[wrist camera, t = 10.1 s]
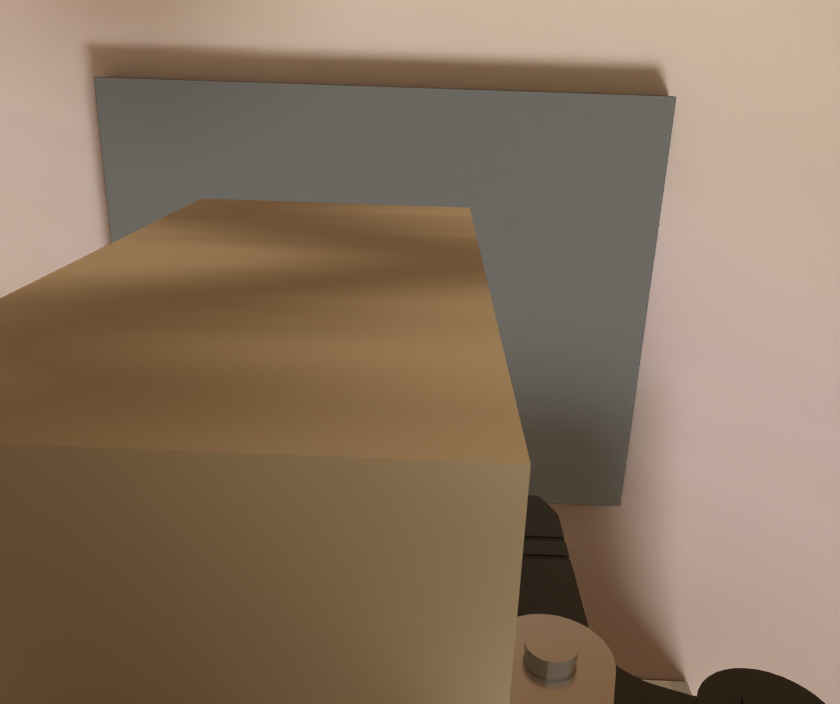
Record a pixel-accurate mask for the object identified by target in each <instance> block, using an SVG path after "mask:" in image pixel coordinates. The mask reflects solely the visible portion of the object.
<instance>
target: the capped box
mask: <svg viewBox="0 0 840 704" xmlns="http://www.w3.org/2000/svg"><path fill="white" fill-rule="evenodd" d="M530 467H531V463H530V459H529V455H528V450H527V446H526V442H525V438H524V434H523V429H522V425H521V421H520V417H519V413H518V408H517V404H516V400H515V396H514V392H513V387H512V383H511V379H510V375H509V371H508V366H507V362H506V358H505V354H504V350H503V345H502V341H501V337H500V333H499V329H498V324H497V320H496V316H495V312H494V308H493V303H492V299H491V295H490V291H489V287H488V283H487V278H486V274H485V270H484V266H483V262H482V257H481V253H480V249H479V245H478V241H477V236H476V232H475V228H474V224H473V220H472V215H471V211H470V208H466V207H437V206H407V205H378V204H349V203H320V202H290V201H261V200H232V199H203V198H201V199H199V200H197V201H195V202H193V203H191V204H189V205H187V206H185V207H183V208H181V209H179V210H177V211H175V212H173V213H171V214H169V215H167V216H165V217H163V218H161V219H159V220H157V221H155V222H153V223H151V224H149V225H147V226H145V227H143V228H141V229H139V230H137V231H135V232H133V233H131V234H129V235H127V236H125V237H123V238H121V239H119V240H117V241H115V242H113V243H111V244H109V245H107V246H105V247H103V248H101V249H99V250H97V251H95V252H93V253H91V254H89V255H87V256H85V257H83V258H81V259H79V260H77V261H75V262H73V263H71V264H69V265H67V266H65V267H63V268H61V269H59V270H57V271H55V272H53V273H51V274H49V275H47V276H45V277H43V278H41V279H39V280H37V281H35V282H33V283H31V284H29V285H27V286H25V287H23V288H21V289H19V290H16V291H14V292H12V293H10V294H8V295H6V296H4V297H2V298H0V704H509V703H510V691H511V680H512V669H513V658H514V647H515V635H516V624H517V613H518V602H519V591H520V579H521V568H522V557H523V546H524V534H525V523H526V512H527V501H528V490H529V478H530Z"/></svg>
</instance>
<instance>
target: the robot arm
mask: <svg viewBox="0 0 840 704" xmlns="http://www.w3.org/2000/svg"><path fill="white" fill-rule="evenodd" d="M509 704H825V703H824V702H823V701H821V700H820V699H819V698H818V697H817V696H815V695H814V694H813V693H811V692H810V691H808V690H807V689H805V688H804V687H802V686H800V685H798V684H797V683H795V682H793V681H790V680H788V679H786V678H784V677H781V676H778V675H775V674H772V673H770V672H765V671H761V670H756V669H747V668H733V669H726V670H722V671H719V672H716V673H714V674H712V675H711V676H709V677H708V678H706V679H705V680H704V681H703V682H702V684H701V686H700V687H699V689H698V693H697V697H696V696H693V695H689V694H686V693H682V692H679V691H675V690H672V689H668V688H665V687H661V686H658V685H655V684H652V683H649V682H646V681H643V680H641V679H639V678H637V677H634V676H632V675H631V674H629V673H627V672H625V671H624V670H622V669H621V668H619V667H618V666H616V663H615V660H614V656H613V654H612V652H611V650H610V648H609V647H608V646H607V644H606V643H605V642H604V641H603V639H601V638H600V637H599V636H598V635H597V634H596V633H595V632H593V631H592V630H590V629H589V627H588V624H587V620H586V616H585V613H584V609H583V605H582V602H581V598H580V594H579V591H578V587H577V583H576V579H575V576H574V572H573V568H572V565H571V561H570V560H569V554H568V550H567V546H566V543H565V542H564V535H563V532H562V528H561V524H560V520H559V517H558V515H557V514H556V513H555V512H554V511H553V509H552V508H551V507H550V506H549V505H548V504H547V503H546V502H545V501H544V500H543V499H542V498H541V497H540V496H534V495H528V501H527V512H526V523H525V534H524V546H523V557H522V568H521V579H520V591H519V602H518V613H517V624H516V635H515V647H514V658H513V669H512V680H511V691H510V703H509Z"/></svg>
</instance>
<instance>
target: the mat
mask: <svg viewBox="0 0 840 704" xmlns="http://www.w3.org/2000/svg"><path fill="white" fill-rule="evenodd" d="M94 83H95V92H96V101H97V111H98V120H99V129H100V139H101V148H102V158H103V167H104V176H105V186H106V195H107V204H108V214H109V223H110V232H111V242H112V243H113V242H115V241H117V240H119V239H121V238H123V237H125V236H127V235H129V234H131V233H133V232H135V231H137V230H139V229H141V228H143V227H145V226H147V225H149V224H151V223H153V222H155V221H157V220H159V219H161V218H163V217H165V216H167V215H169V214H171V213H173V212H175V211H177V210H179V209H181V208H183V207H185V206H187V205H189V204H191V203H193V202H195V201H197V200H199V199H201V198H203V199H232V200H261V201H290V202H320V203H349V204H378V205H407V206H437V207H466V208H470V211H471V215H472V220H473V224H474V228H475V232H476V236H477V241H478V245H479V249H480V253H481V257H482V262H483V266H484V270H485V274H486V278H487V283H488V287H489V291H490V295H491V299H492V303H493V308H494V312H495V316H496V320H497V324H498V329H499V333H500V337H501V341H502V345H503V350H504V354H505V358H506V362H507V366H508V371H509V375H510V379H511V383H512V387H513V392H514V396H515V400H516V404H517V408H518V413H519V417H520V421H521V425H522V429H523V434H524V438H525V442H526V446H527V450H528V455H529V459H530V463H531V467H530V478H529V490H528V495H534V496H540V497H541V498H542V499H543V500H544V501H545V502H546V503H556V504H580V505H604V506H620V503H621V496H622V489H623V481H624V474H625V467H626V459H627V452H628V445H629V438H630V430H631V423H632V416H633V409H634V401H635V394H636V387H637V380H638V372H639V365H640V358H641V351H642V343H643V336H644V329H645V321H646V314H647V307H648V300H649V292H650V285H651V278H652V271H653V263H654V256H655V249H656V242H657V234H658V227H659V220H660V213H661V205H662V198H663V191H664V184H665V176H666V169H667V162H668V154H669V147H670V140H671V133H672V125H673V118H674V111H675V104H676V97H674V96H649V95H619V94H589V93H559V92H529V91H499V90H469V89H439V88H409V87H379V86H349V85H319V84H289V83H259V82H229V81H200V80H170V79H140V78H110V77H94Z"/></svg>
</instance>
